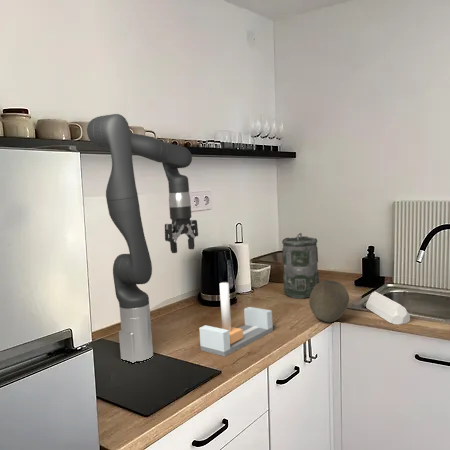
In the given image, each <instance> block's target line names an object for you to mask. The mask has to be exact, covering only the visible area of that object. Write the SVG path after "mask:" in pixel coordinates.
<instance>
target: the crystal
mask: <svg viewBox="0 0 450 450" xmlns="http://www.w3.org/2000/svg"><path fill="white" fill-rule="evenodd" d="M365 307H366V309H368V310H369V311H371V312H372V313H374V314H375V315H377V316H378V317H380V318H382V319H383V320H385V321H386V322H388V323H390V324H393V325H404V324H405V325H406V324H408V323H409V322H410V321H411V315H410V313H409V312H408V311H407V309H406V307H404V306H403V305H402V304H400V303H398V302H397V301H394V300H392V299H390V298H389V297H387V296H385V295H383V294H381V293H379V292H377V291H375V290H374V291H372V292H371V294H370V295H369V297H368V300H367V301H366V305H365Z"/></svg>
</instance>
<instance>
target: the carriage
mask: <svg viewBox="0 0 450 450" xmlns="http://www.w3.org/2000/svg"><path fill="white" fill-rule="evenodd" d="M219 297H220V313H221V314H220V315H221V329H225V330H229V335H230V344H232V343H234V342H236V341H238V340H240V339H242V338H243V329H239V328H240V327H234V326H232V319H231V300H230V284H229V282H227V281H223V282H220V283H219Z"/></svg>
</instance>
